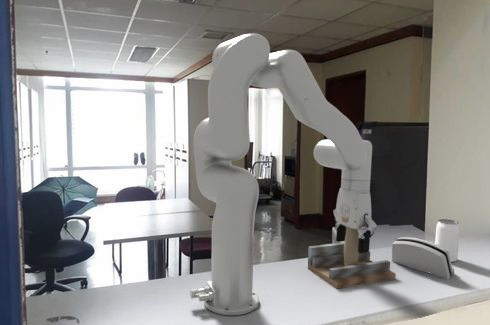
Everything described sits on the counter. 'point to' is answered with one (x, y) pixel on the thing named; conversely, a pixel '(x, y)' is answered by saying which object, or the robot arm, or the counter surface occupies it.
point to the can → (448, 237)
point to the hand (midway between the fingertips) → (351, 246)
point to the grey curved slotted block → (422, 256)
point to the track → (346, 267)
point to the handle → (350, 245)
